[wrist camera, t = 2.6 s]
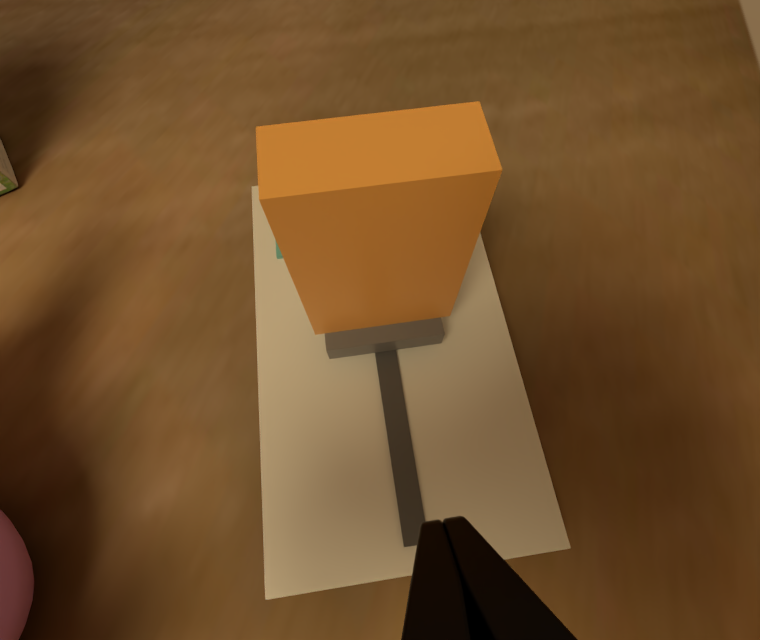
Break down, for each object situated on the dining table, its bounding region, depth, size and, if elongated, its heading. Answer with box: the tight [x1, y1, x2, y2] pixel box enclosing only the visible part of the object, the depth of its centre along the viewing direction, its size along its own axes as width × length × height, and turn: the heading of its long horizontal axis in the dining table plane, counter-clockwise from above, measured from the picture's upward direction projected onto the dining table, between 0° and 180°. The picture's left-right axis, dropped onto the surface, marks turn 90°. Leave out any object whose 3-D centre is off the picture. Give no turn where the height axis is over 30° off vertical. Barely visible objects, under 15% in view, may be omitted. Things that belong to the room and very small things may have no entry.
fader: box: [256, 101, 502, 359], centre depth 15 cm, size 4×6×10 cm, turn 98°
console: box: [252, 186, 571, 600], centre depth 21 cm, size 20×12×2 cm, turn 8°
